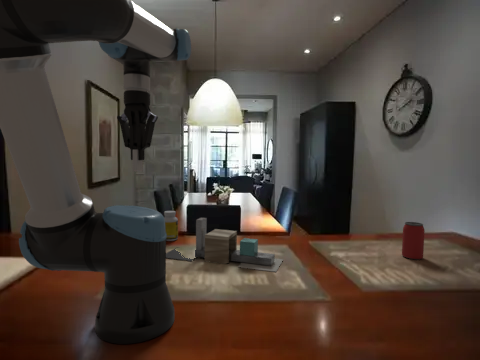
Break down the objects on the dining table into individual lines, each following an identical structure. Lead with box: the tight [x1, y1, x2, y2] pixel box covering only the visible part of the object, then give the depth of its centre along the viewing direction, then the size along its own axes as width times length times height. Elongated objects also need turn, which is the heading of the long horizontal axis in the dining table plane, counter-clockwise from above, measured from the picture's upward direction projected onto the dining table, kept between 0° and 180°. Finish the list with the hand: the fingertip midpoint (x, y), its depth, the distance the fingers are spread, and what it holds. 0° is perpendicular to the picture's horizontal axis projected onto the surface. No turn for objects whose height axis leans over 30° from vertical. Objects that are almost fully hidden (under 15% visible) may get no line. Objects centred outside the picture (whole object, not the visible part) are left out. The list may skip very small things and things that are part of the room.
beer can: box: [401, 221, 426, 261], centre depth 109 cm, size 7×7×12 cm
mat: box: [237, 257, 284, 273], centre depth 100 cm, size 12×12×1 cm
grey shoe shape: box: [166, 247, 194, 262], centre depth 109 cm, size 12×12×1 cm
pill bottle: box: [163, 210, 179, 242], centre depth 128 cm, size 6×6×12 cm
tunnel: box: [204, 228, 238, 264], centre depth 104 cm, size 9×8×9 cm
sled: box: [195, 217, 276, 266], centre depth 103 cm, size 5×26×12 cm, turn 72°
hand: (137, 171), depth 94 cm, fingers closed
